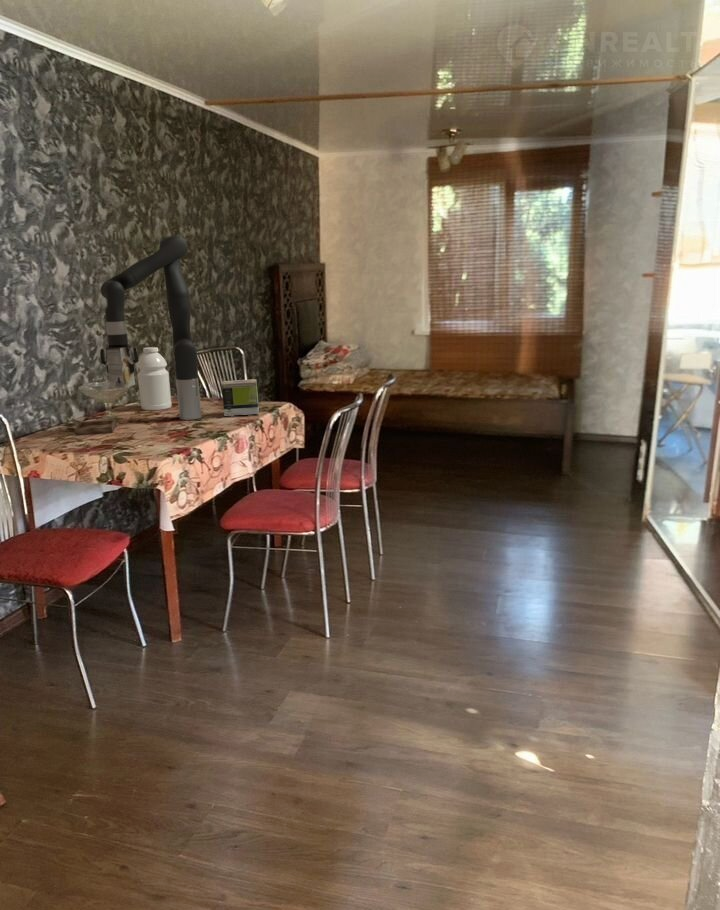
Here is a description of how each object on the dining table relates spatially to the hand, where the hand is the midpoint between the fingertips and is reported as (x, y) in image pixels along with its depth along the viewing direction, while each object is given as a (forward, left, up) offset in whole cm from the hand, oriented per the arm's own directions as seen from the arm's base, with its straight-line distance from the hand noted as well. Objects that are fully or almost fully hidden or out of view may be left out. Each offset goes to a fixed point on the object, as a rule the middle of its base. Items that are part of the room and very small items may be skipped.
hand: (121, 374), depth 278 cm
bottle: (-9, -42, -22) cm, 49 cm away
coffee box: (0, 0, -5) cm, 5 cm away
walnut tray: (+12, +1, -22) cm, 25 cm away
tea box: (-47, -13, -22) cm, 54 cm away
